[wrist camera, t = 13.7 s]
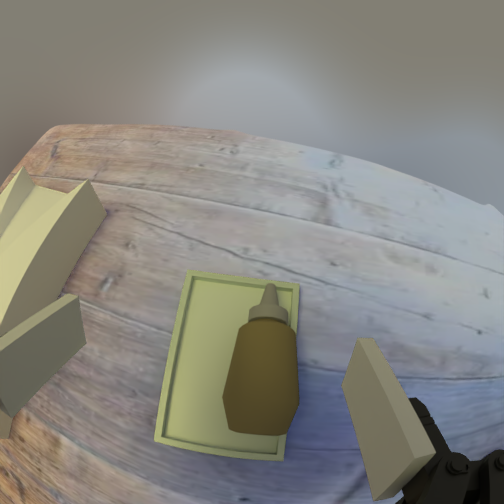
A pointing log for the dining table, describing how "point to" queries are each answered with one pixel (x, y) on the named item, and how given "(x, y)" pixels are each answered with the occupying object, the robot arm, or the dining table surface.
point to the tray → (213, 365)
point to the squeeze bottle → (263, 372)
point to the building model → (40, 248)
